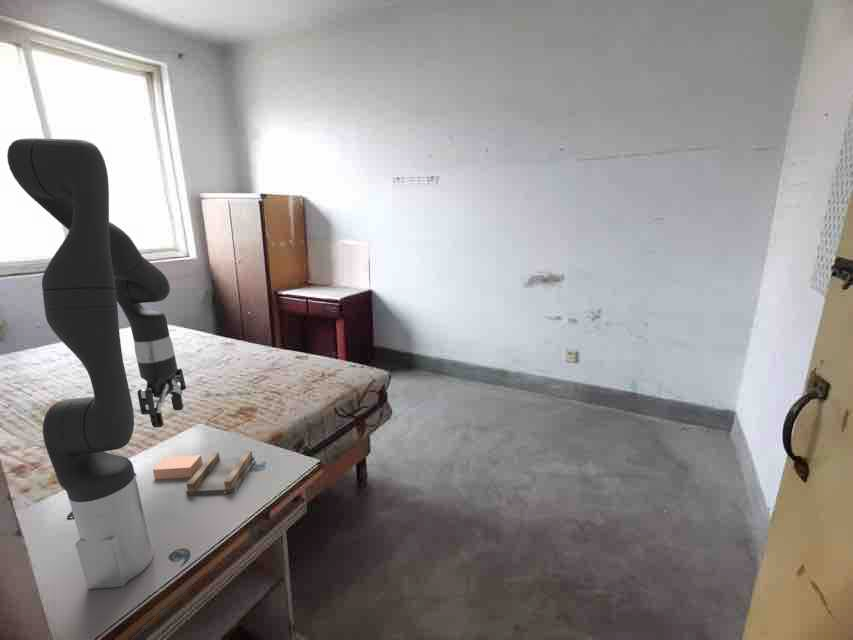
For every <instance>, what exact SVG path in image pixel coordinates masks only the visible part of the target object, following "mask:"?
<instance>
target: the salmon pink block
mask: <svg viewBox="0 0 853 640" xmlns="http://www.w3.org/2000/svg"><path fill="white" fill-rule="evenodd" d="M202 465H203V458H202V455H201V454H197V455H182V456H181V455H179V456H166V457H164V458H163V459H162V460H161V461H160V462H159V463H158V464H157V465H156V466H155V467H154V468H153V469H152V471H153V472H152V473H153V477H154V480H163V479H164V480H165V479H167V480H168V479H181V478H182V479H183V478H192V477H193V476H194V475H195V473H196V472H197V471H198V470H199V469H200V467H201V466H202Z"/></svg>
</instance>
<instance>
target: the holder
mask: <svg viewBox="0 0 853 640" xmlns="http://www.w3.org/2000/svg"><path fill="white" fill-rule="evenodd" d="M254 459H255V460H256V457H253V451H252V450H245V452H244V453H243V454H242V456H241V457H238V458H237V457H236V458H221V457H220V453H219V452H212V453H211V454H210V455H209V457H208V458H207V459H206V460H205V461H204V463H202V466H201V467H200V468H199V469H198V470H197V472H196V473H195V474H194V475H193V476H192V477H190V479H189V480H188V481H187V482H186V488H187V490H186V491H185V493H186V494H185V495H186V496H199V495H201V494H203V495H212V494H211V493H220V494H225V493H224V492H235V490H236V489H237V490H238V488H239V487H240V485H241V484H240V483H242V482H243V481H242V480H244V479H245V477H246V476H247V474H248V473H247V471H248V469H249V467H250V466H251V464H252V462H253V461H254ZM251 467H252V466H251ZM248 472H249V471H248ZM246 473H247V474H246ZM245 475H246V476H245ZM244 476H245V477H244ZM243 478H244V479H243ZM241 481H242V482H241ZM238 486H239V487H238ZM237 490H236V491H237ZM235 493H236V492H235Z"/></svg>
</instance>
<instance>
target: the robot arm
mask: <svg viewBox="0 0 853 640" xmlns="http://www.w3.org/2000/svg"><path fill="white" fill-rule="evenodd" d="M6 157H7V163H8V167H9V171H10V172H11V174H12V176H13V178H14V180H15V181H16V182H17V183H18V185H19V186H20V188H21V189H22V190H24V192H25V193H27V195H28V196H29V197H30V198H32V199H33V201H35V202H36V203H37V204H38V205H39V206H40V207H41V208H43V210H45V211H46V212H48V214H49V215H50V216H52V217H53V218H55V220H56V221H57V222H59V223H60V224H61V225H62V226H63V227H64V228H66V229H67V230H68V233H67V235H66V236H65V238H64V240H63V242H62V243H61V244H60V246H59V248H58V249H57V250H56V252H55V254H54V255H53V256H52V258H51V260H50V261H49V262H48V264H47V266H46V268H45V270H44V273H43V276H42V279H41V280H42V281H41V289H42V299H43V307H44V314H45V318H46V321H47V324H48V326H49V327H50V329H51V330H52V331H53V333H54V334H55V335H56V336H57V338H58V339H59V340H60V341H61V342H62V343H63V344H64V345H65V346H66V347H67V349H69V350H70V351H71V352H72V353H73V354H74V355H75V356H76V358H77V359H78V360H79V361H80V362H81V364H82V365H83V366H84V368H85V370H86V372H87V374H88V376H89V380H90V383H91V387H92V392H93V396H88V397H87V396H85V397H77V398H68V399H64V400H60V401H57V402H55V403H54V404H52V405H51V406H50V407H49V409H48V410H47V412H46V413H45V415H44V418H43V423H42V437H43V442H44V447H45V450H46V451H47V456H48V457H49V459H50V460H49V461H50V462H51V465H52V468H53V471H54V474H55V476H56V478H57V481H58V483H59V485H60V487H61V488H62V489H63V490H64V491H65V492H66V494H67V497H68V501H69V504H70V507H71V511H72V512H73V516H74V518H73V519H74V523H75V526H76V527H75V528H76V530H77V535H78V537H79V539H78V540H77V541H76V542H75V547H76V551H77V555H78V558H79V562H80V566H81V569H82V573H83V576H84V580H85V583H86V587H87V589H88V590H91V589H105V588H106V589H107V588H123V587H124V586H126V584H127V583H128V582H129V581H130V580H132V579H134V578H136V577H137V576H138V575H139V574H140V573H142V572H143V571H144V570H145V569H147V568H148V566H149V565H150V563H151V562H152V560H153V557H154V552H153V547H152V544H151V539H150V534H149V529H148V524H147V521H146V518H145V517H146V516H145V512H144V509H143V504H142V500H141V495H140V491H139V486H138V482H137V477H136V476H135V473H136V472H135V470H134V469H135V468H134V465H133V463H132V461H131V460H130V459H129V458H127V457H125V456H121V455H118V454H112V453H111V452H110V453H109V451H115V450H120V449H122V448H124V447H126V445H128V443H130V441H131V439H132V436H133V433H134V428H135V416H134V415H135V414H134V407H133V401H132V396H131V391H130V388H129V382H128V379H127V373H126V369H125V364H124V359H123V358H124V357H123V352H122V343H121V335H120V334H121V333H120V327H119V326H120V323H119V311H118V309H119V307H118V305H119V306H120V308H121V310H122V312H123V313H124V316H125V317H126V319H127V321H128V322H129V325H130V330H131V333H132V335H131V336H132V338H133V346H134V354H135V357H136V358H135V359H136V361H137V367H138V371H139V375H140V377H141V379H142V380H145V381H146V388H142V389H138V390H137V397H138V402H139V408H140V409H139V410H140V414H141V415H149V418H150V422H151V426H152V427H153V428H162V427H163V426H164V420H163V419H164V418H163V414H162V411H161V409H162V405H163V404H164V403H165V401H166V397H168V395H170V399H171V404H172V405H171V406H172V410H173V411H182V410H183V409H184V404H183V403H184V402H183V398H182V395H183V393H184V392H183V391H185V390H186V389H187V386H186V380H185V378H184V377H185V376H184V373H183V370H182V368H178V365H177V364H178V363H177V359H176V354H175V348H174V345H173V341H172V338H171V335H170V332H169V330H170V329H169V325H168V322H167V317H166V314H165V313H164V312H161V311H158V310H157V311H155V310H149V309H146V308H145V307H143V305H142V304H144V303H145V304H147V303H159V302H162V301H164V300H165V299H167V298H168V296H169V294H170V292H171V291H170V289H171V287H170V283H169V280H168V278H167V277H166V275H165V274H164V273H163V272H162V271H161V270H160V269H159V268H158V267H156V266H155V264H152V262H150V260H148V259H147V258H145V257H144V256H143V255H142V253H141V252H140V251H139V249H138V247H137V246H136V244H135V242H134V241H133V240H132V238H131V237H130V236H129V235H128V234H127V233H126V232H125V231H124V230H122V228H120V227H118V226H117V225H116V224H114V223H112V222H110V191H109V190H110V187H109V176H108V169H107V166H106V162H105V158H104V156H103V154H102V152H101V151H100V149H99V147H97V146H96V144H94V143H92V142H91V141H89V140H86V139H85V140H84V139H76V138H36V137H35V138H32V137H30V138H20V139H16V140H14V141H12V142H11V143H10V145H9V146H8V149H7V156H6ZM178 383H180V385H179V384H178ZM154 398H155V399H154ZM155 404H156V405H155Z"/></svg>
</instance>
